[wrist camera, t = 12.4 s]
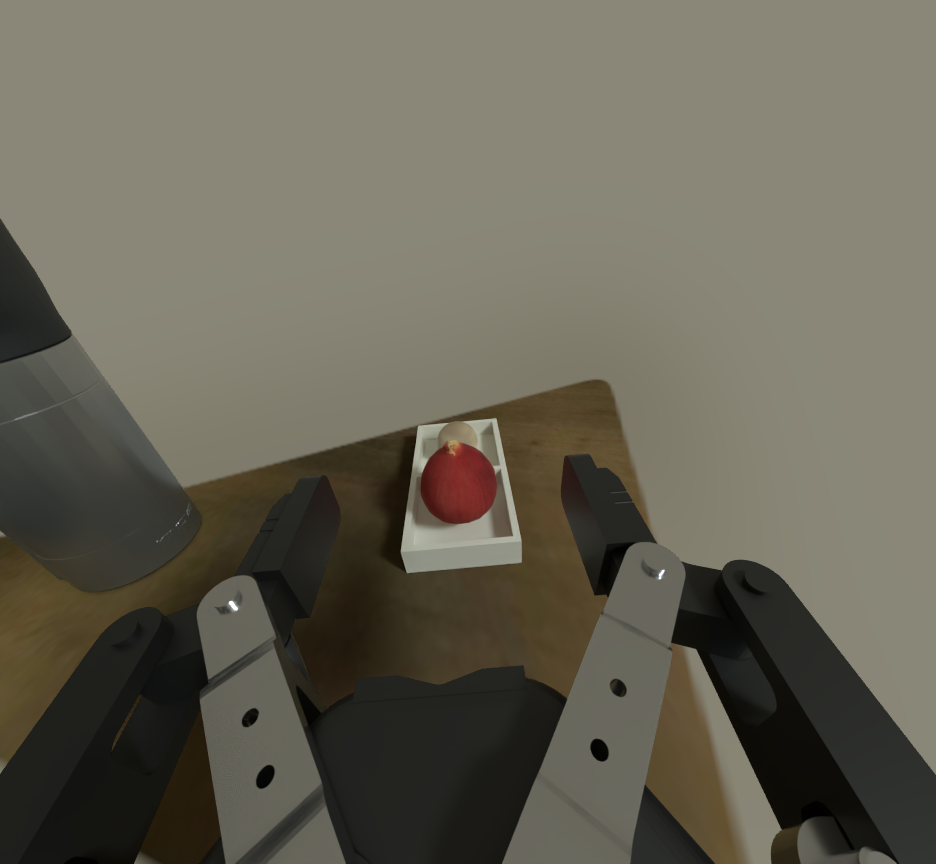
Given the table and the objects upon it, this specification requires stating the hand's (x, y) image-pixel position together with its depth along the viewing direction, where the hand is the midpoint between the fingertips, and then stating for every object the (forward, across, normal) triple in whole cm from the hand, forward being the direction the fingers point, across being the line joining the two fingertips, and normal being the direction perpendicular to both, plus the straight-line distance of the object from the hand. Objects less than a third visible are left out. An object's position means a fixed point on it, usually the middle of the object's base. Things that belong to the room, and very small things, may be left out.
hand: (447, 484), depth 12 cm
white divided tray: (+15, 0, +15) cm, 21 cm away
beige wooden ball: (+19, 0, +14) cm, 24 cm away
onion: (+11, 0, +14) cm, 18 cm away
